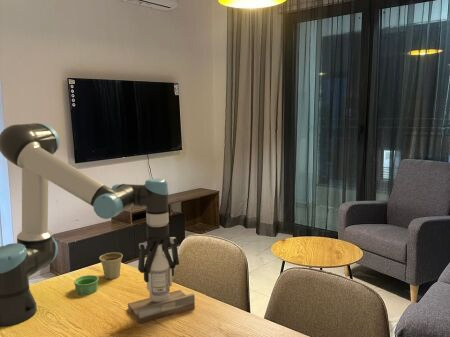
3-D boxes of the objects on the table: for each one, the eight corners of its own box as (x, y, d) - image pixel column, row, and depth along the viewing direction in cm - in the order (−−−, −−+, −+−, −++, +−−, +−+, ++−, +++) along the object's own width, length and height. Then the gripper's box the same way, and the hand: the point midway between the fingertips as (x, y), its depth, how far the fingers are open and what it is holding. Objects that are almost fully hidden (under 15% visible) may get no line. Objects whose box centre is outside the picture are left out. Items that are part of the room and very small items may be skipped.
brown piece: (128, 308, 139) (127, 295, 138) (180, 294, 149) (179, 282, 148) (140, 324, 128) (139, 310, 128) (195, 308, 139) (194, 295, 138)
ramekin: (70, 290, 153) (69, 280, 153) (92, 283, 160) (91, 273, 159) (81, 298, 147) (80, 286, 147) (103, 290, 154) (102, 279, 153)
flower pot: (111, 282, 160) (110, 262, 159) (95, 277, 165) (94, 258, 164) (128, 274, 168) (127, 255, 167) (112, 270, 173) (111, 251, 172)
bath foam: (173, 299, 138) (171, 244, 135) (154, 304, 134) (152, 248, 132) (164, 292, 144) (163, 239, 141) (146, 297, 140) (144, 242, 137)
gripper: (179, 217, 144) (180, 277, 147) (125, 225, 133) (128, 290, 137) (188, 222, 137) (189, 284, 141) (133, 231, 127) (135, 298, 130)
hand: (159, 287), depth 139 cm, fingers closed on bath foam, 7 cm apart
